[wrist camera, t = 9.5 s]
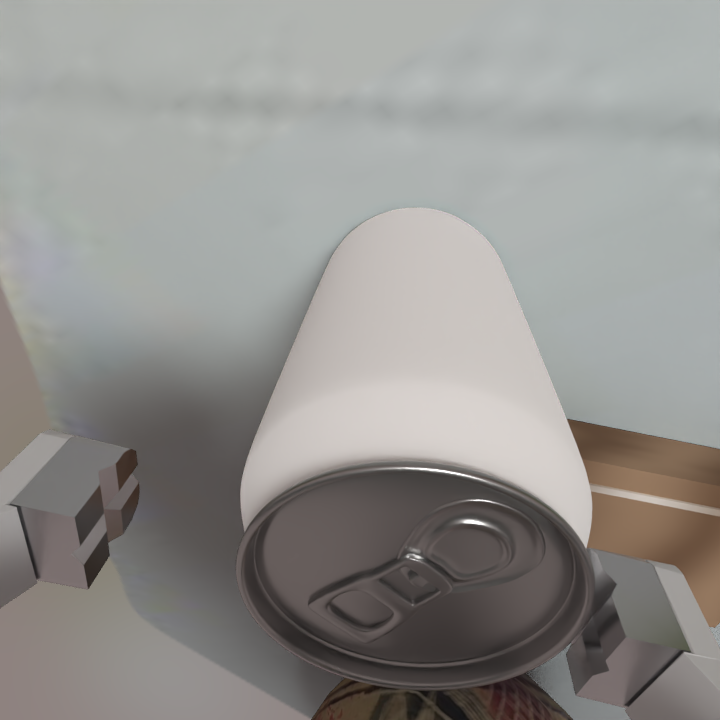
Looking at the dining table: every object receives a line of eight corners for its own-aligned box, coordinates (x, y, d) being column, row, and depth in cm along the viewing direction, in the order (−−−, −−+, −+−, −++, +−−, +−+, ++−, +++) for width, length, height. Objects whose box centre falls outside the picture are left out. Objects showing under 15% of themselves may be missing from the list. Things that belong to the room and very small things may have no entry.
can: (542, 296, 18) (715, 622, 8) (408, 397, 21) (402, 735, 10) (417, 159, 16) (421, 349, 6) (288, 291, 19) (132, 579, 8)
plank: (791, 463, 21) (834, 510, 19) (689, 580, 25) (715, 629, 23) (313, 368, 20) (301, 405, 18) (292, 503, 24) (280, 546, 22)
